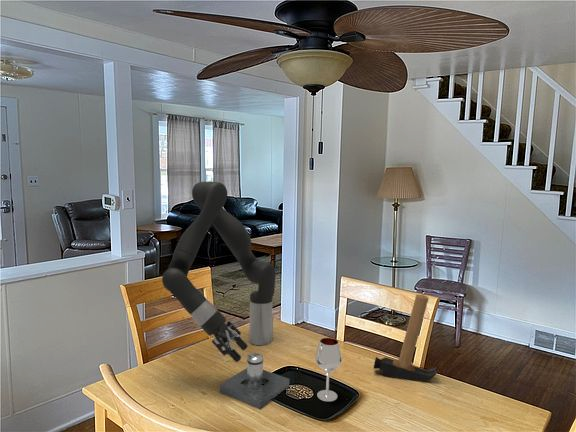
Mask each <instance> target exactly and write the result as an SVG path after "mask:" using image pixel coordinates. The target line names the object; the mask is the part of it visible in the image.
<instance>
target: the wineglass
mask: <svg viewBox="0 0 576 432" xmlns="http://www.w3.org/2000/svg"><path fill="white" fill-rule="evenodd" d="M342 358H343V356H342V351H341V348H340V343H339V340H338V339H336V338H334V337H333V338H332V337H324V338H321V339H320V340H319V341H318V347H317V350H316V353H315V363H316V366H318V367H319V369H321V370H322V371H323V372H324V373H325V376H326V380H325V382H326V383H325V384H326V385H325V389H322V390H320V391H318V392H317V393H316V394H317V398H318V399H319V400H321V401H323V402H334V401H337V399H338V394H337V393H336V392H335V391H333V390H330V375H331V373H333V372H334V371H336V370H337V369H338V368H339V367H340V365H341V364H342V360H343V359H342Z"/></svg>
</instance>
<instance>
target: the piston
mask: <svg viewBox="0 0 576 432" xmlns="http://www.w3.org/2000/svg"><path fill="white" fill-rule="evenodd" d="M246 356H247V357H246V363H247V364H246V368H247V386H249V387H251V388H254V389H256V390H258V389H259V388H261V387H262V386H263V385H262V378H263V370H264V369H263V368H264V365H263V364H264V355H263V354H261V353H258V352H257V353H256V352H252V353H249V354H247V355H246Z"/></svg>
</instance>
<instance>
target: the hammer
mask: <svg viewBox="0 0 576 432" xmlns="http://www.w3.org/2000/svg"><path fill="white" fill-rule="evenodd" d="M429 299H430V298H429V296H426V295H424V294H416V295H415V299H414V301H413V302H414V303H413V306H412V310H411V313H410V317H409V321H408V324H407V329H406V332H405V336H404V339H403V342H402V343H403V344H402V347H401V350H400V355H399V358H398V359H392V358H389V357H387V356H386V357H383V358H381V359H380V358H379V357H378V356H375V358H374V364H373V369H375V370H376V369H377V370H378V369H379V371H380V373H381V374H382V375H385V376H388V377H391V378H394V379H398V380H403V381H405V380H406V381H412V382H418V383H427V382H429V381H431V380H433V378H434V377H435V376H436V375H437V371H436V366H433V367H432V368H428V369H427V368H421V367H419V366H415V365H413V364H412V362H413V356H414V353H415V350H416V346H417V342H418V339H419V335H420V332H421V328H422V324H423V320H424V316H425V313H426V310H427V306H428V303H429Z"/></svg>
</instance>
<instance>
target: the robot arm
mask: <svg viewBox="0 0 576 432" xmlns="http://www.w3.org/2000/svg"><path fill="white" fill-rule="evenodd" d="M191 195H192V196H191V197H192V200H193V202H194V204H195V205H196V206H197V207H198V208H199V210H200V212H199V214H198V216H197V217H196V219H194V221H193V222H192V223H191V224H190V225H189V226H188V227H187V228H186V229H185V231H184V232H183V233H182V234H181V236H180V238H179V240H178V243H177V244H176V246H175V249H174V251H173V254H172V259H171V261H170V263H169V264H168V267H167V269H166V270H165V271H164V273H163V274H162V277H161V283H162V286H163V287H164V288H165V290H166V291H168V292H170V293H171V294H172V296H174V297H175V298H176V299H177V300H178V301H179V303H180V305H181V306H182V307H183V309H184V310H185V311H186V312H187V313H188V314H189V315H190V316H191V317H192V319H193V321H195V323H196V324H197V325H198V326H199V327H200V328H201V329H202V330H203V331H204V332H205V333H206V334H207V336H209V337H211V336H212V335H213V336H214V338H213V339H212V340H211V343H212V344H213V345H214V346H215V348H217V350H218V351H219V352H220V353H221V355H223V356H224V357H225V356H226V355H229V356H230V358H231V359H232V360H233V361H234V362H236V363H239V361H240V360H242V356H241V354H239V352H238V351H237V350H236V349H235V348H234V347H233V345H232V342H234V343H235V344H236V346H238V347H239V349H241V351H245V350H246V349H247V348H248V347H249V345H248V344H247V343H246V342H245V340H244V339H243V338H242V336H241V334H242V332H241V331H240V330H239V329H238V328H237V327H236V326H235V325H234V324H233V323H232V322H231V321H230V320H228V321H227V318H226V317H225V316H224V315H223V313H221V312H220V310H218V308H217V307H216V306H215V305H214V304H213V302H210V301H209V299H207V298H206V296H204V294H203V293H202V292H201V291H200V290H199V289H197V288H196V287H195V286H194V284H193V283H192V281H191V280H190V278H188V275H189V272H190V269H191V267H192V264H193V262H194V261H195V259H196V257H197V254H198V252H199V249H200V247H201V245H202V242H203V240H204V239H205V237H206V235H207V233H208V232H209V230H210V228H211V226H213V227H214V228H215V230H216V231H217V232H218V234H219V236H220V237H221V239H222V240H223V242H224V243H225V245H226V246H227V248H228V249H229V250H230V252H231V253H232V254H233V256H234V257H235V259H236V260H237V262H238V264H239V265H240V268H241V269H242V271H243V273H244V275H245V277H246V279H248V281H249V282H251V283H253V284H257V285H258V289H257V290H256V291H255V290H254V291H252V292H251V293H250V294H249V295H250V296H249V331H248V332H249V333H248V334H249V343H250V344H251V345H256V346H266V345H269V344H270V343H272V340H273V339H274V335H273V334H274V317H273V301H274V300H273V298H274V295H275V290H276V289H275V288H276V275H277V274H276V268H275V266H274V265H273V264H272V263H270V262H265V261H261V260H259V259H258V258H257V257H256V256H255V255H254V253H253V251H252V238H251V235H250V234H249V232H248V231H247V229H246V227H245V226H244V224H243V223H242V222H241V221H240V220H239V219H237V218H236V217H235V216H234V215H232V214H231V213H230V212H228V211H227V210H226V209H225V208H224V206H225V203H226V202H227V199H228V190H227V187H226V185H225V184H224V183H222V182H219V181H199V182H197V183H196V184H194V185H193V188H192V190H191Z"/></svg>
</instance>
